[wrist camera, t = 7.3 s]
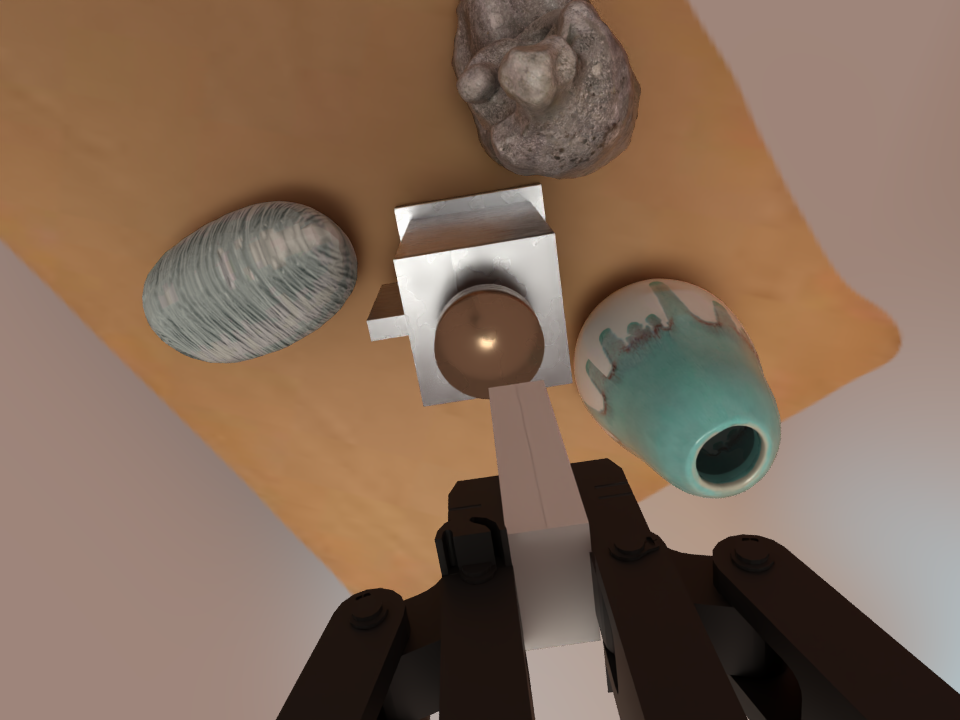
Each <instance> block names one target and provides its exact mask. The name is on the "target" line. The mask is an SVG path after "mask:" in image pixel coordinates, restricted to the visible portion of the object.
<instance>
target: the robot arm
mask: <svg viewBox="0 0 960 720" xmlns="http://www.w3.org/2000/svg"><path fill="white" fill-rule="evenodd" d="M488 389H489V397H490V406H491V414H492V422H493V431H494V439H495V448H496V456H497V465H498V473H499V475H498V476H491V477H485V478H478V479H471V480H464V481H457V483H456V484H455V486H454V487H453V489H452V490H451V492H450V493H449V495H448V510H449V511H448V522H446V523H445V524H444V525H443V526H442V527H441V528H440V529H439V530H438V531H437V534H436V537H435V543H436V548H437V553H438V558H439V563H440V568H441V573H442V578H441V579H440V580H439V582H438V583H437V584H436V585H434V586H433V587H431V588H430V589H429V590H427V591H425V592H423V593H421V594H419V595H417V596H414V597H412V598H409V599H406V600H404V601H403V599H402V597H401V596H400V595H399V594H397V593H396V592H394V591H393V590H388V589H383V588H377V589H368V590H365V591H362V592H359V593H357V594H354V595H352V596H351V597H350V598H348V599H347V600H345V601H344V602H342V603H341V605H340V606H339V607H338V608H337V610H336V611H335V612H334V614H333V615H332V617H331V619H330V621H329V623H328V625H327V626H326V628H325V630H324V632H323V634H322V636H321V638H320V639H319V641H318V643H317V645H316V647H315V649H314V650H313V652H312V654H311V656H310V658H309V660H308V661H307V663H306V665H305V667H304V669H303V671H302V673H301V674H300V676H299V678H298V680H297V682H296V684H295V686H294V687H293V689H292V691H291V693H290V695H289V696H288V698H287V700H286V702H285V704H284V706H283V708H282V710H281V711H280V713H279V715H278V717H277V719H276V720H430V715H431V714H434V713H436V712H438V711H439V720H535V715H534V707H533V700H532V692H531V685H530V678H529V671H528V664H527V657H526V651H529V650H535V649H542V648H550V647H557V646H564V645H572V644H579V643H585V642H593V641H600V640H601V639H600V631H601V635H602V638H603V645H604V655H605V665H606V675H607V685H608V692H613V693H614V697H615V701H616V705H617V708H618V712H619V716H620V720H748V719H749V720H960V694H959V693H958V692H956V691H955V690H954V689H953V688H952V687H951V686H949V685H948V684H947V683H946V682H945V681H943V680H942V679H941V678H940V677H938V675H936V674H935V673H934V672H933V671H932V670H930V669H929V668H928V667H927V666H926V665H924V664H923V663H922V662H921V661H920V660H918V659H917V658H916V657H915V656H913V655H912V654H911V653H910V652H909V651H908V650H907V649H905V648H904V647H903V646H902V645H901V644H899V643H898V642H897V641H896V640H895V639H893V638H892V637H891V636H890V635H889V634H887V633H886V632H885V631H884V630H883V629H882V628H880V627H879V626H878V625H877V624H876V623H874V622H873V621H872V620H871V619H870V618H868V617H867V616H866V615H865V614H864V613H862V612H861V611H860V610H859V609H858V608H856V607H855V606H854V605H853V604H852V603H850V602H849V601H848V600H847V599H846V598H845V597H843V596H842V595H841V594H840V593H839V592H837V591H836V590H835V589H834V588H833V587H832V586H830V585H829V584H828V583H827V582H826V581H824V580H823V579H822V578H821V577H820V576H818V575H817V574H816V573H815V572H814V571H812V570H811V569H810V568H809V567H808V566H806V565H805V564H804V563H803V562H802V561H800V560H799V559H798V558H797V557H796V556H795V555H793V554H792V553H791V552H790V551H788V550H787V549H786V548H785V547H784V546H782V545H780V544H778V543H777V542H775V541H774V540H771V539H768V538H765V537H761V536H757V535H744V534H742V535H737V536H731V537H728V538H726V539H724V540H722V541H720V542H718V544H717V545H716V546H715V548H714V549H713V556H706V555H694V554H687V553H681V552H678V551H674V550H671V549H669V548H667V546H666V544H665V543H664V542H663V541H662V539H661V538H660V537H659V536H658V535H656V534H654V533H652V532H650V530H649V527H648V525H647V523H646V521H645V519H644V516H643V514H642V512H641V510H640V508H639V505H638V503H637V501H636V499H635V496H634V495H633V492H632V490H631V488H630V485H629V484H628V481H627V479H626V477H625V474H624V472H623V470H622V468H621V467H619V466H618V465H616V464H615V463H614V462H612V461H611V460H609V459H608V458H605V459H598V460H591V461H584V462H578V463H571V464H570V462H569V459H568V456H567V453H566V449H565V446H564V443H563V440H562V437H561V434H560V431H559V427H558V424H557V421H556V418H555V415H554V412H553V409H552V405H551V402H550V399H549V396H548V393H547V390H546V386H545V383H544V380H539V381H532V382H526V383H519V384H512V385H505V386H498V387H492V388H488ZM599 627H600V629H599ZM746 716H747V717H748V719H747V717H746Z"/></svg>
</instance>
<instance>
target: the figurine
mask: <svg viewBox="0 0 960 720" xmlns="http://www.w3.org/2000/svg"><path fill="white" fill-rule="evenodd" d="M456 12H457V16H458V28H457V32H456V35H455V39H454V51H453V58H452V66H453V69H454V71H455V74H456V77H457V85H456V86H457V90H458V92H459V94H460V96H461V98H462V99H463V100H464V101H465V102H467V104H468V106H469V108H470V110H471V112H472V114H473V117H474V121H475V124H476V126H477V130H478V136H479V140H480V143H481V145H482V147H483V148H484V150H485V151H486V153H487V154H488V155H489V156H490V157H491V158H492V159H493V160H495V161H496V162H497V163H498V164H500V165H502V166H503V167H505V168H506V169H508V170H510V171H512V172H514V173H515V174H519V175H524V176H530V175H542V176H547V177H552V178H556V179H567V178H577V177H582V176H585V175H588V174H590V173H593V172H595V171H596V170H598V169H600V168H601V167H603V166H604V165H606V164H607V163H609V162H610V161H611V160H613V159H614V158H616V157H617V156H618V155H620V154H621V153H622V152H623V151H625V150H626V149H627V147H628V145H629V143H630V141H631V136H632V133H633V130H634V126H635V120H636V119H637V116H638V106H639V100H640V93H641V88H640V84H639V83H638V81H637V80H636V77H635V75H634V73H633V71H632V69H631V67H630V64H629V60H628V56H627V54H626V52H625V50H624V48H623V47H622V45H621V43H620V42H619V41H618V40H617V38H616V37H615V36H614V35H613V33H612V32H611V31H610V29H609V28H608V26H607V25H606V24H605V23H604V22H603V21H601V19H600V17H599V15H598V13H597V11H596V10H595V8H594V7H593V6H592V5H591V3H590V1H589V0H460V2H459V4H458V6H457V9H456Z"/></svg>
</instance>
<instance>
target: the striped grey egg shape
mask: <svg viewBox="0 0 960 720" xmlns="http://www.w3.org/2000/svg"><path fill="white" fill-rule="evenodd" d="M356 280H357V258H356V254H355V251H354V248H353V246H352V244H351V241H350V240H349V238H348V237H347V235H346V234H345V233H344V232H343V231H342V230H341V228H340V227H339V226H338V225H336V224H335V223H334V222H333V221H332V220H331V219H330V218H328V217H327V216H326V215H324V214H322V213H320V212H319V211H317V210H315V209H313V208H311V207H308V206H306V205H303V204H298V203H294V202H286V201H272V202H264V203H258V204H254V205H250V206H247V207H244V208H242V209H239V210H236V211H233V212H231V213H228V214H226V215H224V216H222V217H220V218H219V219H217V220H215V221H212V222H210V223H208V224H206V225H204V226H203V227H201V228H200V229H198V230H197V231H195V232H194V233H192V234H190V235H189V236H187V237H185V238H184V239H183V240H181V241H180V242H179V243H178V244H177V245H175V246H174V247H173V248H171V249H170V250H168V251H167V252H166V253H165V254H164V255H163V256H162V257H161V258H160V260H159V261H158V262H157V263H156V265H155V266H154V267H153V268H152V270H151V271H150V273H149V274H148V276H147V278H146V281H145V284H144V290H143V296H142V298H143V308H144V312H145V315H146V318H147V321H148V323H149V325H150V326H151V328H152V330H153V331H154V332H155V333H156V334H157V335H158V336H159V337H160V338H161V340H162V341H164V342H165V343H166V344H168V345H169V346H171V347H172V348H174V349H175V350H177V351H179V352H180V353H182V354H184V355H186V356H189V357H191V358H194V359H198V360H202V361H206V362H210V363H235V362H241V361H245V360H250V359H253V358H256V357H259V356H263V355H265V354H268V353H271V352H275V351H278V350H281V349H283V348H285V347H288V346H290V345H291V344H293V343H295V342H296V341H298V340H300V339H302V338H304V337H305V336H307V335H308V334H310V333H312V332H314V331H315V330H317V329H318V328H320V327H321V326H322V325H323V324H324V323H325V322H327V321H328V320H329V319H330V318H332V317H333V316H334V315H335V314H336V313H337V312H338V311H339V310H340V309H341V307H342V306H343V304H344V303H345V301H346V300H347V298H348V297H349V296H350V294H351V293H352V291H353V289H354V286H355V284H356Z"/></svg>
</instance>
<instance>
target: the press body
mask: <svg viewBox="0 0 960 720" xmlns="http://www.w3.org/2000/svg"><path fill="white" fill-rule="evenodd" d="M394 211H395V216H396V221H397V226H398V231H399V236H400V241H401V243H400V245H399V248H398V250H397V252H396V255H395V257H394V260H393V261H394V266H395V271H396V276H397V280H398V282H396V283H390V284H384V285H382V286H381V288H380V291H379V293H378V295H377V298H376V300H375V302H374V305H373V307H372V310H371V312H370V314H369V317H368V319H367V324H368V329H369V333H370V337H371V341H376V340H382V339H388V338H394V337H401V336H407V335H409V338H410V343H411V348H412V353H413V358H414V362H415V367H416V372H417V377H418V382H419V386H420V391H421V396H422V401H423V406H431V405H437V404H443V403H450V402H456V401H462V400H469V399H475V397H471V396H468V395H466V394H464V393H462V392H460V391H458V390H457V389H455V388H454V387H453V386H452V385H450V384H449V383H448V382H447V380H446V379H445V378H444V377H443V375H442V374H441V372H440V370H439V368H438V366H437V363H436V359H435V353H434V341H435V331H436V324H437V321H438V318H439V315H440V313H441V311H442V309H443V308H444V306H445V305H446V304H447V303H448V301H449V300H450V299H451V298H453V297H454V296H455V295H456V294H458V293H459V292H461V291H463V290H465V289H467V288H469V287H472V286H476V285H482V284H495V285H501V286H504V287H508V288H510V289H512V290H514V291H516V292H517V293H519V294H520V295H521V296H523V297H524V298H525V299H526V300H527V301H528V302H529V303H530V305H531V306H532V308H533V309H534V311H535V313H536V316H537V318H538V321H539V324H540V326H541V329H542V332H543V336H544V343H545V349H544V357H543V361H542V363H541V366H540V368H539V370H538V372H537V374H536V375H535V376H534V378H533V379H532V380H531V381H530V382H532V381H539V380H544V383H545V386H546V387H551V386H557V385H564V384H570V383H572V374H571V366H570V357H569V349H568V341H567V332H566V324H565V315H564V307H563V299H562V290H561V282H560V273H559V265H558V257H557V248H556V240H555V233H554V232H553V231H552V229H551V228H550V227H549V225H548V224H547V223H546V220H545V212H544V204H543V196H542V187H541V184H540V183H537V184H531V185H525V186H519V187H513V188H507V189H501V190H495V191H489V192H483V193H477V194H471V195H465V196H459V197H453V198H447V199H441V200H435V201H429V202H423V203H417V204H411V205H405V206H399V207H395V209H394Z"/></svg>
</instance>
